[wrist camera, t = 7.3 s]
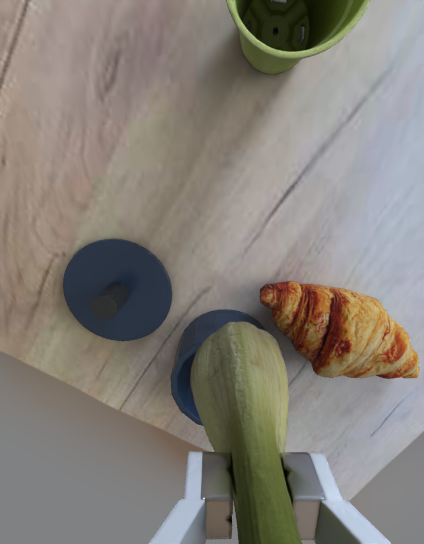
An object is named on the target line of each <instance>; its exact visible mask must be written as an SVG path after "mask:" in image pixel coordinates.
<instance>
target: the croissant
mask: <svg viewBox="0 0 424 544" xmlns="http://www.w3.org/2000/svg"><path fill="white" fill-rule="evenodd" d="M260 302H261V303H262V304H263V305H265V306H267V307H268V308H269V309H271V310H272V312H271V313H272V317H273V320H274V323H275V325H276V326H277V327H278V328H279V330H280V331H283V332H284V333H285V336H286V337H287V338H290V339H291V340H292V344H293V346H294V347H295V349H296V351H297V352H298V353H300V354H301V355H303V356H304V357H305V358H306V359H307V360H309V361H310V362H311V364H312V367H313V370H314V372H315V373H316V374H317V375H320V376H323V377H329V378H332V377H336V376H342V375H344V376H347V377H351V378H358V377H359V378H365V377H370V376H374V375H376V376H379V377H382V378H387V379H391V378H400V377H402V378H417V377H418V375H419V358H418V355H417V353H416V352H415V351H414V350H413V349H412V348H411V345H410V341H409V336H408V334H407V333H406V331H405V330H404V329H403V328H402V327H401V326H400V325H399V324H398V323H397V322H396V321H394V320H392V318H391V317H390V316H389V315H388V314H387V312H386V310H385V309H384V308H383V306H382V303H381V302H379V301H378V300H377V299H374V298H372V297H369V296H366V295H362V294H358V293H356V292H353V291H350V290H346V289H340V288H334V287H324V286H320V285H312V284H298V283H295V282H291V281H287V282H281V283H276V284H266V285H265V286H263V287H262V288H261V289H260Z"/></svg>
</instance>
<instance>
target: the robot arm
mask: <svg viewBox="0 0 424 544" xmlns="http://www.w3.org/2000/svg"><path fill="white" fill-rule="evenodd" d="M279 456H280V460H281V465H282V469H283V473H284V478H285V482H286V486H287V490H288V493H289V496H290V500H291V504H292V507H293V511H294V516H295V520H296V523H297V526H298V530H299V534H300V538H301V540H315V543H316V544H391V543H390V542H389V541H388V540H387V539H386V538H385V537H384V536H383V535H382V534H381V533H380V532H379V531H378V530H377V529H376V528H375V527H374V526H373V525H372V524H371V523H370V522H369V521H368V520H367V519H366V518H365V517H364V516H363V515H362V514H361V513H360V512H359V511H358V510H357V509H356V508H355V507H354V506H352V505H351V504H350V503H349V502H348V501H343V499H342V496H341V494H340V492H339V489H338V487H337V484H336V482H335V479H334V477H333V475H332V472H331V470H330V467H329V465H328V462H327V460H326V458H325V455H324V454H323V453H307V452H281V453H280V454H279ZM232 514H233V492H232V477H231V458H230V453H225V452H193V451H191V452H190V451H189V453H188V458H187V469H186V480H185V490H184V499H179V501H178V502H177V503H176V505H175V506H174V508H173V509H172V511H171V512H170V514H169V515H168V516H167V518H166V519H165V521H164V523H163V524H162V525H161V527H160V528H159V529H158V531H157V532H156V534H155V535H154V536H153V538H152V539H151V541H150V542H149V544H205V542H206V539H231V536H232Z"/></svg>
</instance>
